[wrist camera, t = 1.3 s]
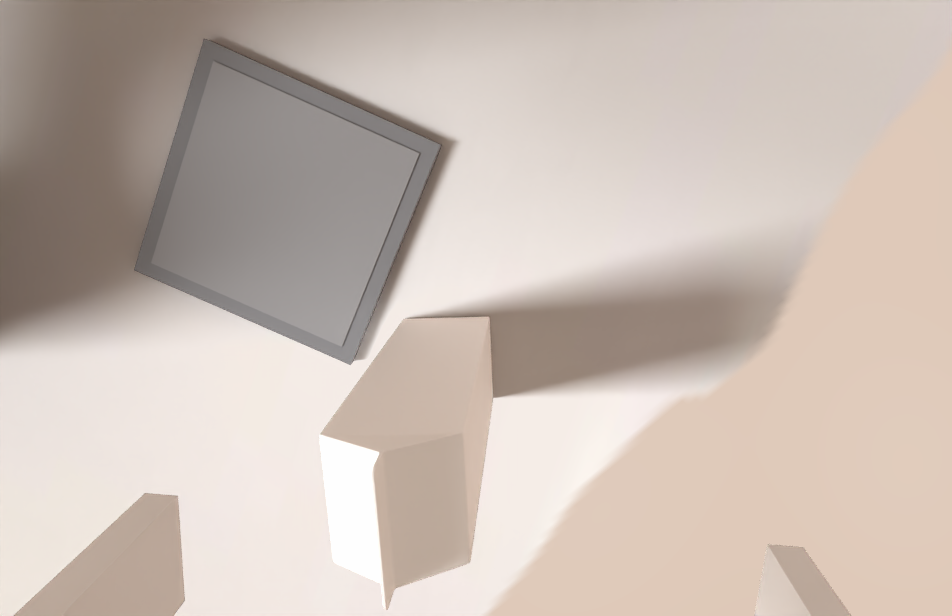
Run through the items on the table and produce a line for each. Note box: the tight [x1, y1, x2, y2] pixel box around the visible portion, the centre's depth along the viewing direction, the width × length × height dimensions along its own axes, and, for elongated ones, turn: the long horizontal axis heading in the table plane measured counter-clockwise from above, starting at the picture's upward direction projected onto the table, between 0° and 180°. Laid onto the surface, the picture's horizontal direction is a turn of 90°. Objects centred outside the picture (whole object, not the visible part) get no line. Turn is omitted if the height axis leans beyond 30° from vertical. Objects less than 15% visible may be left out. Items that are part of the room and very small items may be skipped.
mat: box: [134, 39, 442, 365], centre depth 43 cm, size 16×16×1 cm
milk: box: [319, 317, 493, 610], centre depth 35 cm, size 6×6×22 cm
